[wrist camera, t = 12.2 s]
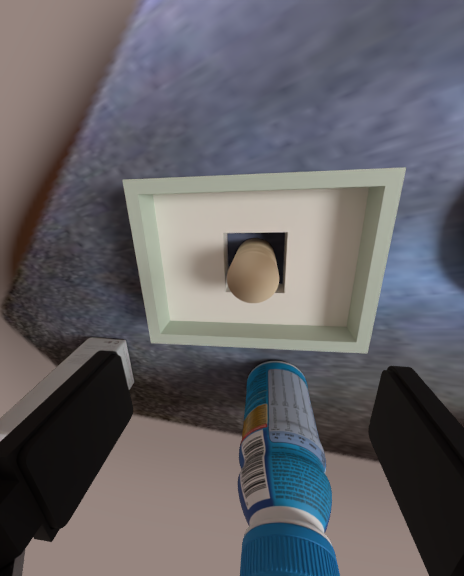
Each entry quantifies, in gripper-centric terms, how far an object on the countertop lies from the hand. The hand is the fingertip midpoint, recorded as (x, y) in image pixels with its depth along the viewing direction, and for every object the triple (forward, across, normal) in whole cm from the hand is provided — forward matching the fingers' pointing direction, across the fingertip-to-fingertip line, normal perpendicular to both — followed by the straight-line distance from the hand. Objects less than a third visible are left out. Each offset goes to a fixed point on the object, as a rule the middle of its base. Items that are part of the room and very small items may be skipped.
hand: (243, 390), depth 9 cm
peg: (+20, 0, 0) cm, 20 cm away
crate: (+20, 0, 0) cm, 20 cm away
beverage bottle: (+20, -3, +18) cm, 27 cm away
